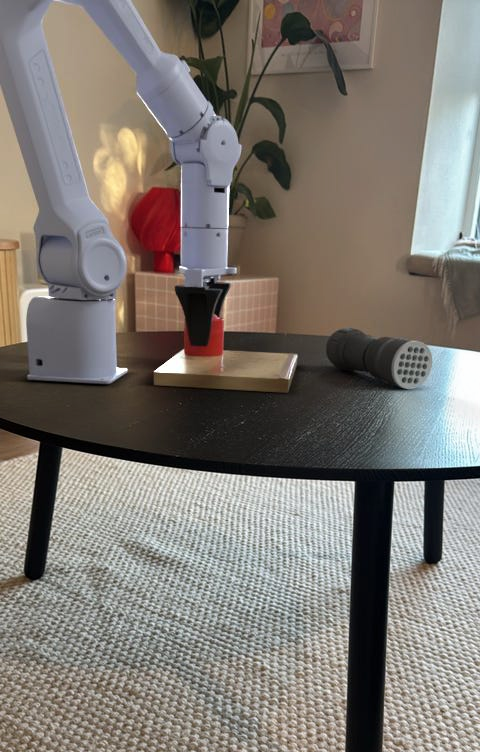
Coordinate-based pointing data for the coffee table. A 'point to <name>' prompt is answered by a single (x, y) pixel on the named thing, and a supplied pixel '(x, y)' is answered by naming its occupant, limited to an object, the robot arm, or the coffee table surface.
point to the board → (230, 371)
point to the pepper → (214, 342)
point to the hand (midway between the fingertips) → (203, 342)
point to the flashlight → (381, 357)
